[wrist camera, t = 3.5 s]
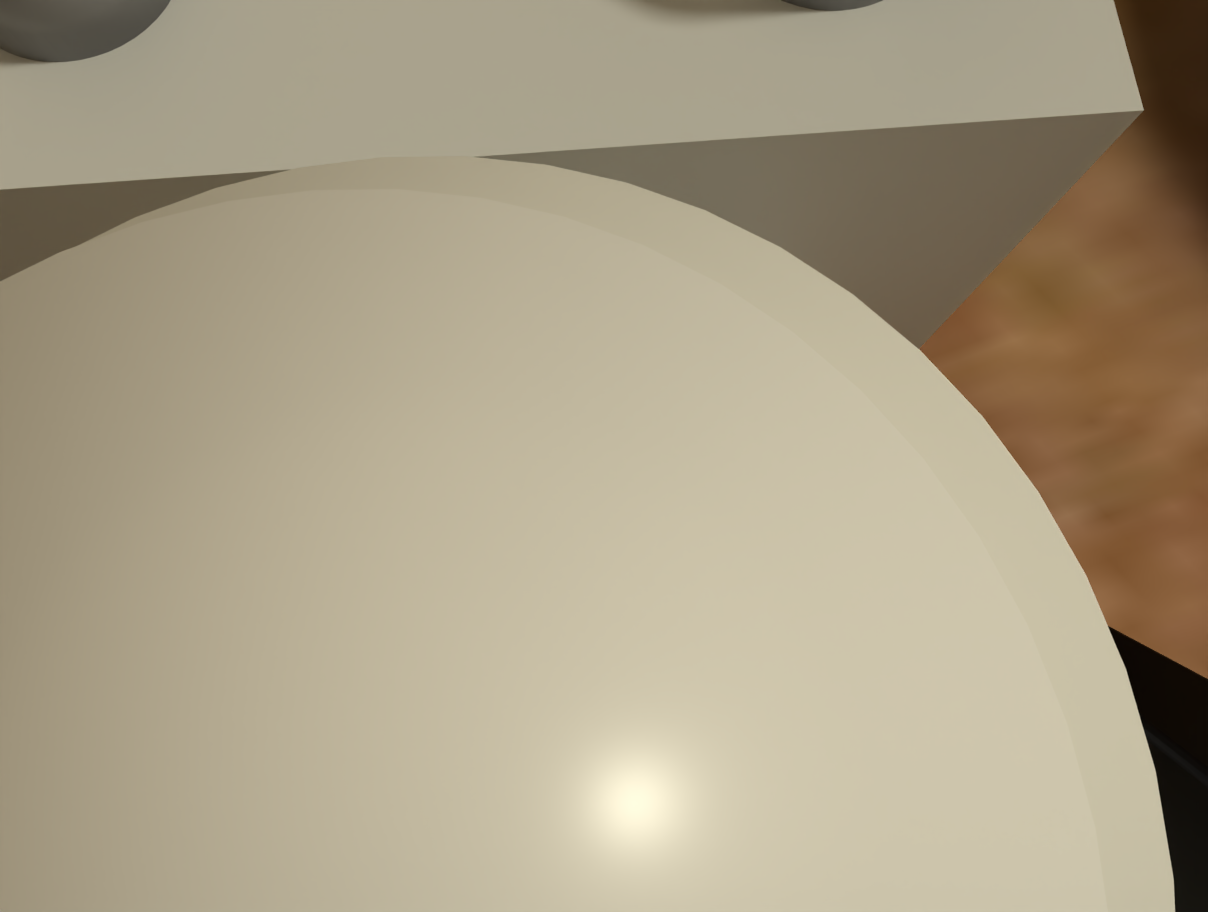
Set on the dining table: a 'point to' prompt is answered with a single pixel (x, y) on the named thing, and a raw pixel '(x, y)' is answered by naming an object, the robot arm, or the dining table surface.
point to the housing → (587, 113)
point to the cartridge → (527, 576)
